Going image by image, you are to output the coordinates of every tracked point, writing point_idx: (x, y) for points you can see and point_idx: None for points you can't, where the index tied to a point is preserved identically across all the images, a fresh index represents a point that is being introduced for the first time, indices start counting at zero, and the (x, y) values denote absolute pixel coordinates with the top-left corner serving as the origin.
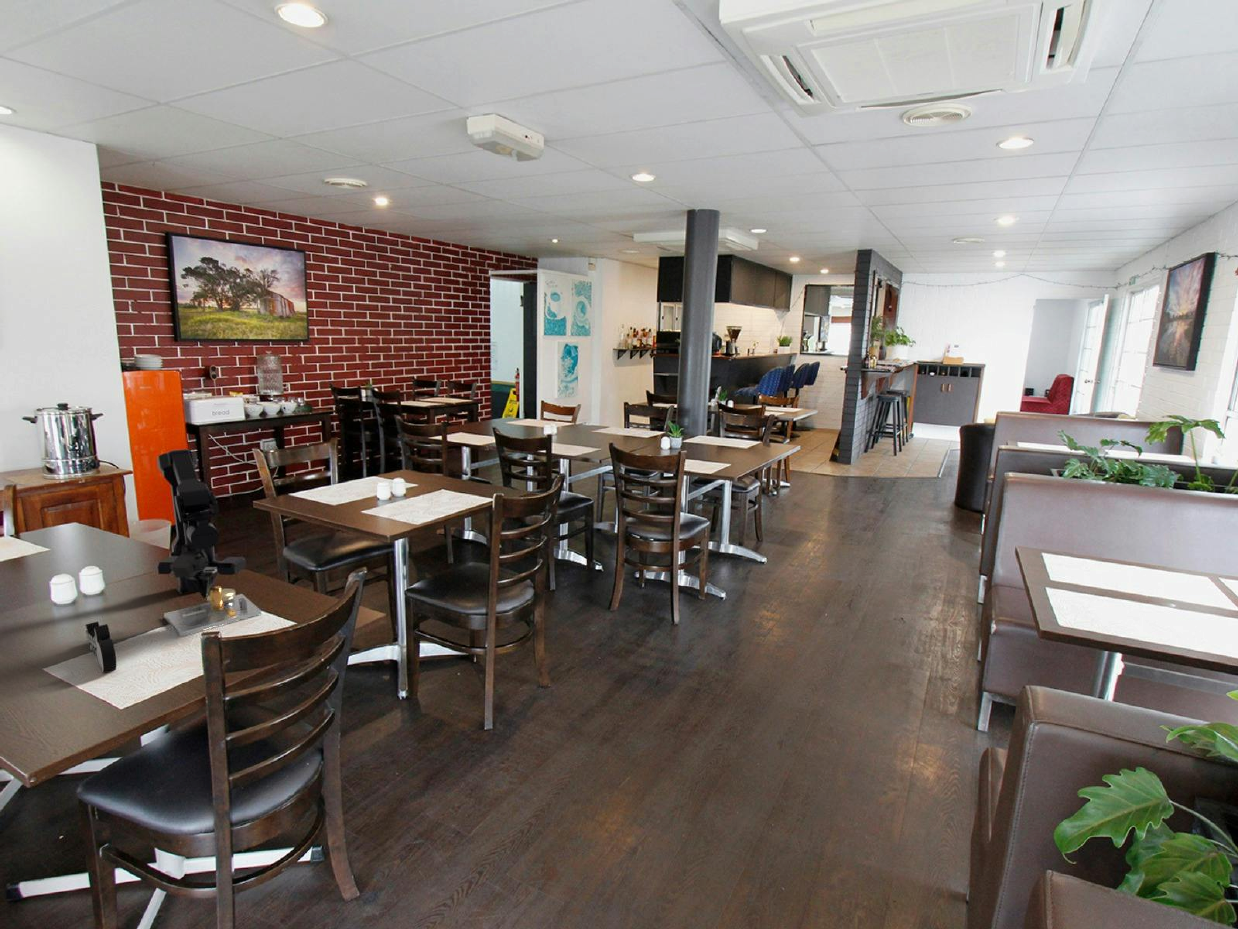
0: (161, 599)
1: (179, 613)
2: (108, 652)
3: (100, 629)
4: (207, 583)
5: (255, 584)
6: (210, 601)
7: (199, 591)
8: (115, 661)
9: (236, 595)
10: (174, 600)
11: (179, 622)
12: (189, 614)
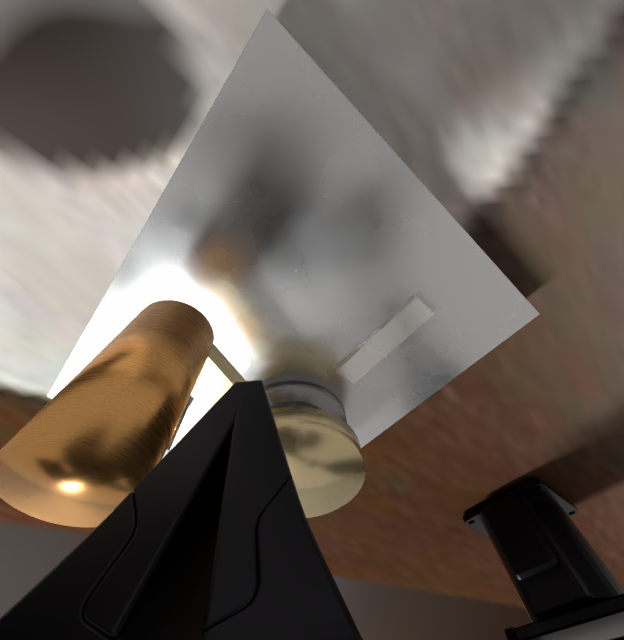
0: (599, 444)
1: (453, 323)
2: None
3: None
4: (57, 567)
5: (321, 549)
6: (310, 411)
7: (272, 425)
8: None
9: None
10: (545, 443)
11: (385, 208)
12: (390, 317)
